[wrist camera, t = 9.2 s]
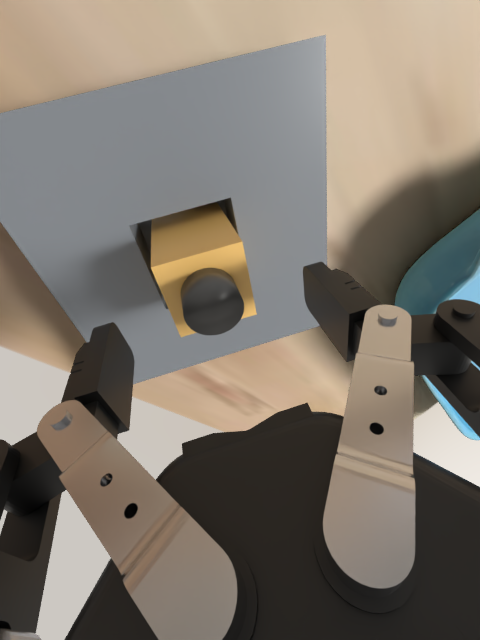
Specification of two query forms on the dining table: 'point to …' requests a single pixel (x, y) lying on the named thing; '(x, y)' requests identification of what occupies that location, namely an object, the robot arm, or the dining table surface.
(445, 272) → the casserole dish
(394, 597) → the robot arm
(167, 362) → the socket
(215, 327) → the plug
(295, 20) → the dining table surface
